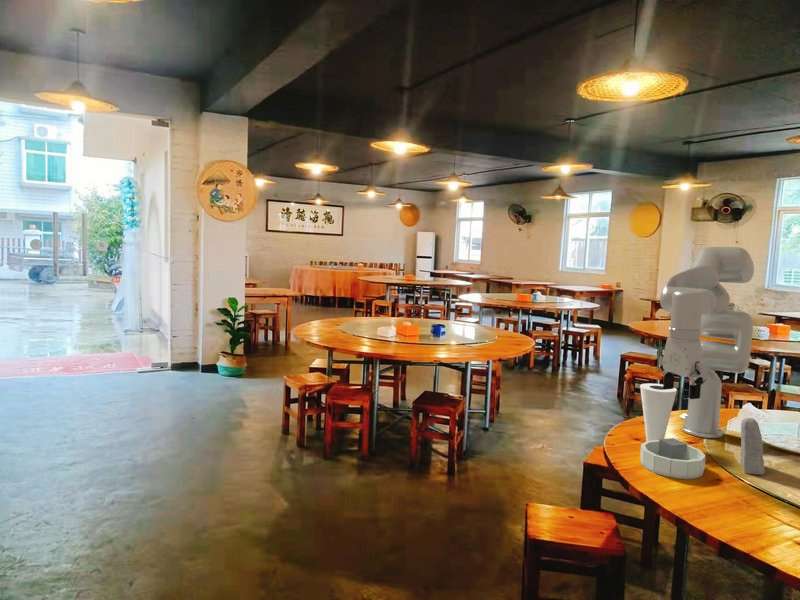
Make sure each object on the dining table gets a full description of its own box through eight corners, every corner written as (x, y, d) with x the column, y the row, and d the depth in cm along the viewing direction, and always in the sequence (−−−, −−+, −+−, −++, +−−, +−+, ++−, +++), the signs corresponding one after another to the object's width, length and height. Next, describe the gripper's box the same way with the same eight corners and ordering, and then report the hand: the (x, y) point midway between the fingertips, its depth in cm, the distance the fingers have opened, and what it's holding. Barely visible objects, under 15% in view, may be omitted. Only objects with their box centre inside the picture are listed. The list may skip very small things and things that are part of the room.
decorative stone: (735, 459, 162) (739, 410, 160) (758, 463, 159) (763, 413, 158) (740, 473, 152) (745, 421, 150) (766, 477, 150) (770, 424, 148)
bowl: (628, 459, 161) (629, 442, 160) (673, 454, 165) (674, 438, 165) (669, 481, 145) (670, 463, 145) (716, 475, 150) (718, 458, 149)
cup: (629, 437, 179) (632, 384, 177) (657, 435, 182) (661, 382, 180) (651, 449, 169) (655, 392, 167) (680, 446, 171) (684, 391, 170)
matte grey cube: (657, 461, 157) (659, 439, 156) (672, 459, 158) (673, 438, 158) (670, 468, 152) (672, 445, 152) (685, 466, 154) (686, 444, 153)
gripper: (651, 329, 160) (648, 386, 162) (698, 340, 143) (694, 403, 145) (672, 328, 162) (669, 384, 164) (721, 339, 145) (716, 401, 147)
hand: (680, 393), depth 154 cm, fingers open, 9 cm apart
